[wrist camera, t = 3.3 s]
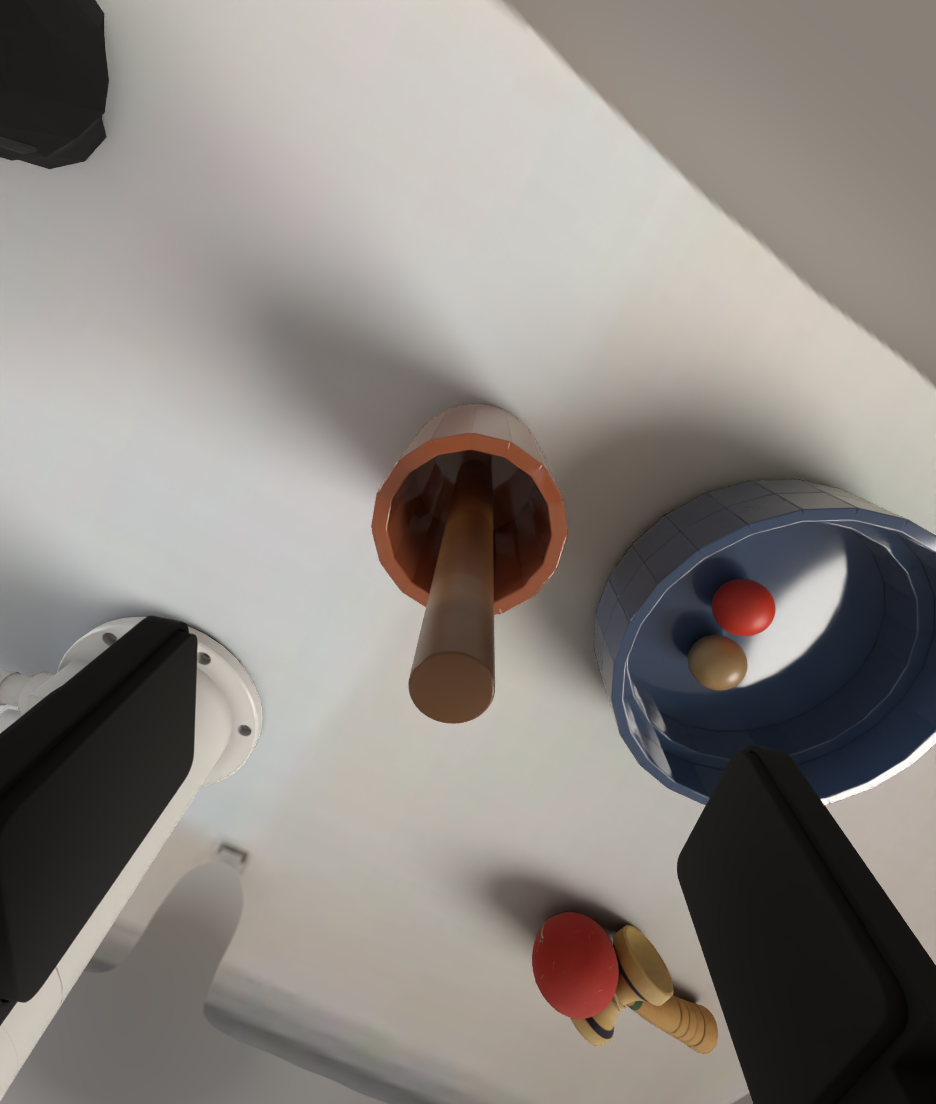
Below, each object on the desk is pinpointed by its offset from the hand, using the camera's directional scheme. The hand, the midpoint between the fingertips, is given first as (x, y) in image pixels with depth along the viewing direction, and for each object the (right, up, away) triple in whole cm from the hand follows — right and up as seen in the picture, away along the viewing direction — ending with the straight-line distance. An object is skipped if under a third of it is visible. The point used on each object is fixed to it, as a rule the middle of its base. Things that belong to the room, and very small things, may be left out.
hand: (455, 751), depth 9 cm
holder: (+1, +8, +19) cm, 21 cm away
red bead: (+15, +1, +19) cm, 24 cm away
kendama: (+13, -28, +33) cm, 45 cm away
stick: (+1, +7, +19) cm, 20 cm away
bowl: (+16, -1, +22) cm, 27 cm away
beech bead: (+14, -3, +20) cm, 25 cm away
